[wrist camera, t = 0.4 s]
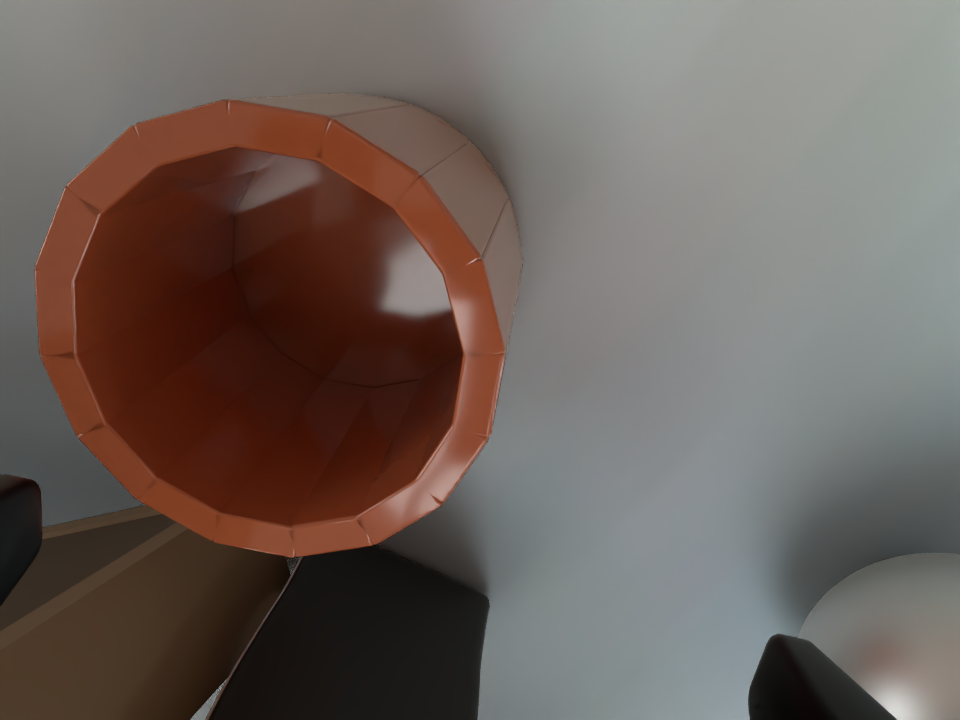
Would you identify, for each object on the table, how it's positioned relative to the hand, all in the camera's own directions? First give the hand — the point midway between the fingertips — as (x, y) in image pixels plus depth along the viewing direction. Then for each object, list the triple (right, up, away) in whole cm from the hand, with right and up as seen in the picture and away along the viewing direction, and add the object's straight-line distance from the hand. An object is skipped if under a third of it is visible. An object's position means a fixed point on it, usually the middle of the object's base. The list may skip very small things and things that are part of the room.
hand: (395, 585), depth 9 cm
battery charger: (-2, -6, +18) cm, 19 cm away
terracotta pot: (-2, +6, +13) cm, 15 cm away
